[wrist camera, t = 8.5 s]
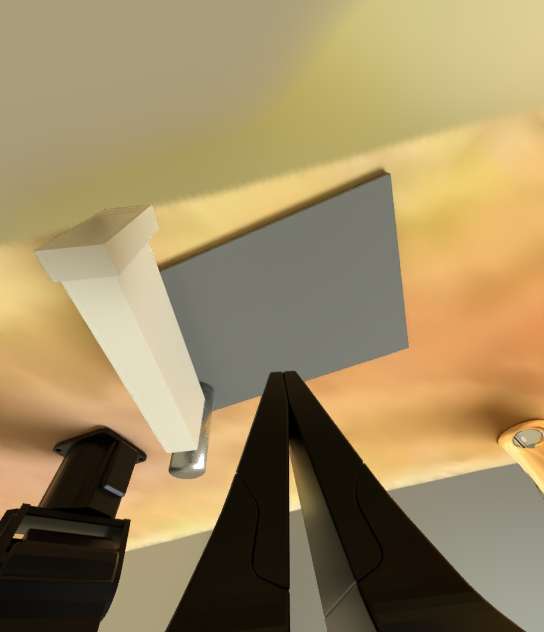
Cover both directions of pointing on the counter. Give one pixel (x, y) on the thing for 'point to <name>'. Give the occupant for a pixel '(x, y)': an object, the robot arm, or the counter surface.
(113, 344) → the cream long block
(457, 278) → the counter surface
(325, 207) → the mat
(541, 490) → the beer glass
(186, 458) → the gate post
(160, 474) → the counter surface
